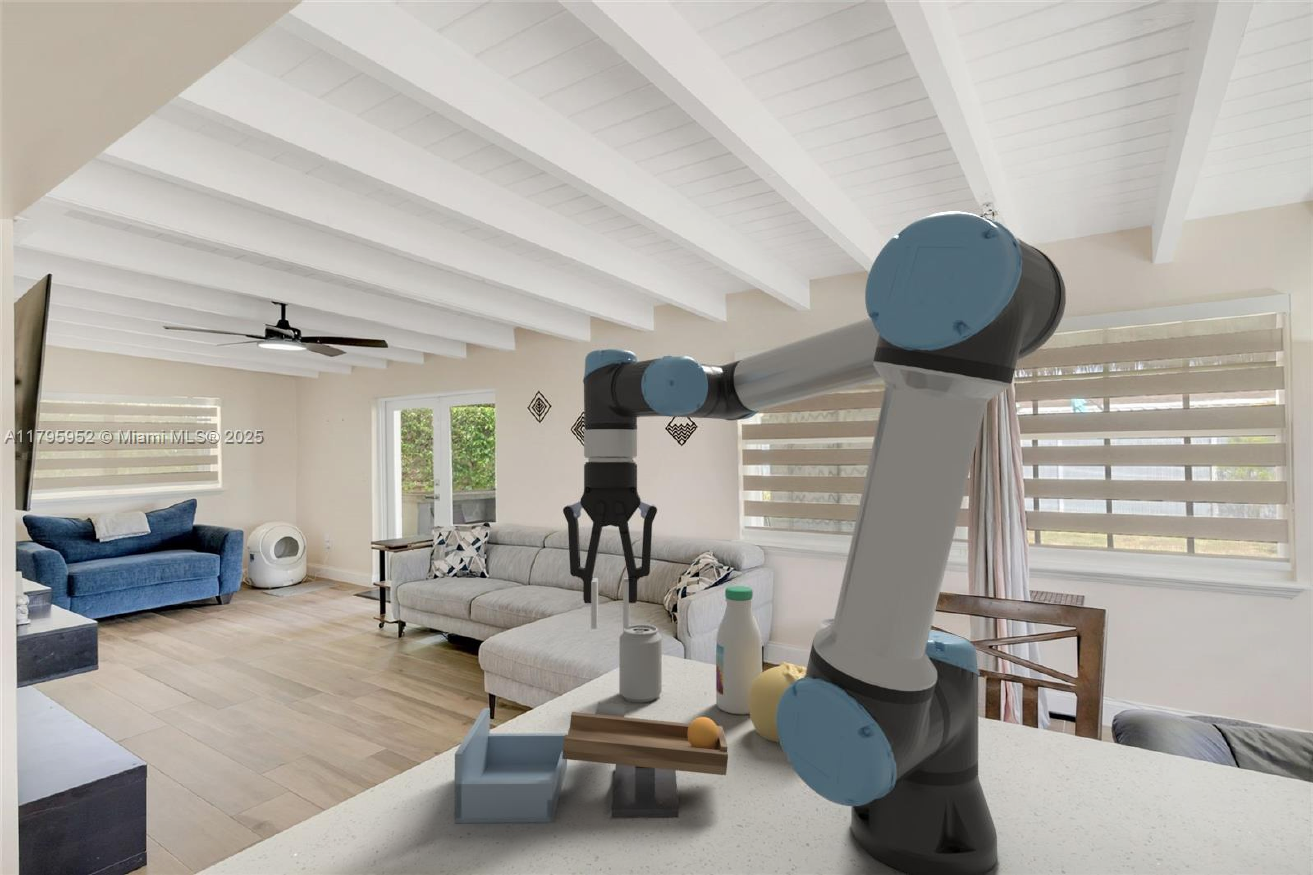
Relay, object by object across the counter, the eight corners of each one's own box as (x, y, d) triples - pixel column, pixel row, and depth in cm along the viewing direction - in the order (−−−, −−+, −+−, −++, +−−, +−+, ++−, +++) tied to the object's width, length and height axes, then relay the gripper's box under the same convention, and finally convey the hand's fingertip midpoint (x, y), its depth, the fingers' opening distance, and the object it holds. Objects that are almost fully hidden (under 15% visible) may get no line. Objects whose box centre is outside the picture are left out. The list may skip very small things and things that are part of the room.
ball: (722, 751, 84) (726, 720, 84) (704, 760, 81) (709, 728, 81) (697, 739, 87) (701, 709, 87) (679, 747, 84) (683, 716, 84)
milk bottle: (769, 703, 113) (769, 586, 113) (750, 719, 106) (750, 595, 106) (728, 694, 117) (728, 581, 117) (708, 709, 110) (708, 589, 111)
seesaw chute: (576, 706, 96) (578, 686, 96) (713, 720, 96) (715, 700, 96) (562, 758, 80) (564, 734, 80) (726, 775, 80) (728, 750, 80)
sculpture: (838, 754, 94) (837, 678, 94) (753, 753, 94) (753, 677, 95) (820, 721, 106) (819, 653, 106) (744, 720, 106) (744, 653, 106)
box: (483, 766, 90) (484, 707, 91) (566, 766, 91) (567, 707, 91) (454, 823, 77) (454, 753, 77) (552, 822, 77) (552, 753, 77)
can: (663, 689, 120) (663, 622, 120) (659, 705, 112) (659, 634, 112) (622, 687, 120) (622, 621, 121) (616, 703, 113) (616, 633, 113)
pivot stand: (616, 768, 90) (616, 736, 90) (674, 768, 90) (674, 736, 90) (611, 818, 78) (611, 780, 78) (678, 817, 78) (678, 780, 78)
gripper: (669, 459, 97) (669, 619, 97) (555, 459, 97) (554, 619, 97) (670, 460, 90) (670, 633, 89) (547, 460, 90) (546, 633, 89)
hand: (610, 625), depth 93 cm, fingers open, 4 cm apart
